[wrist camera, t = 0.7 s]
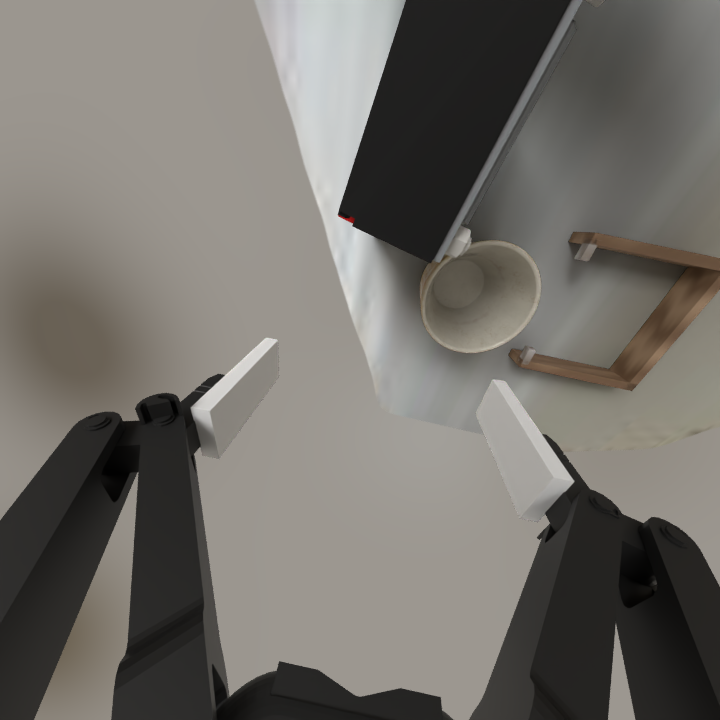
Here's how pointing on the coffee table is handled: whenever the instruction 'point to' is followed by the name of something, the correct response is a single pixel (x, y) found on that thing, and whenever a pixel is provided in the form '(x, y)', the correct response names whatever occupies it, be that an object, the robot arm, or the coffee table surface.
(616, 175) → the coffee table surface
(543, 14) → the electrical component
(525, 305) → the planter
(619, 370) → the walnut cradle
